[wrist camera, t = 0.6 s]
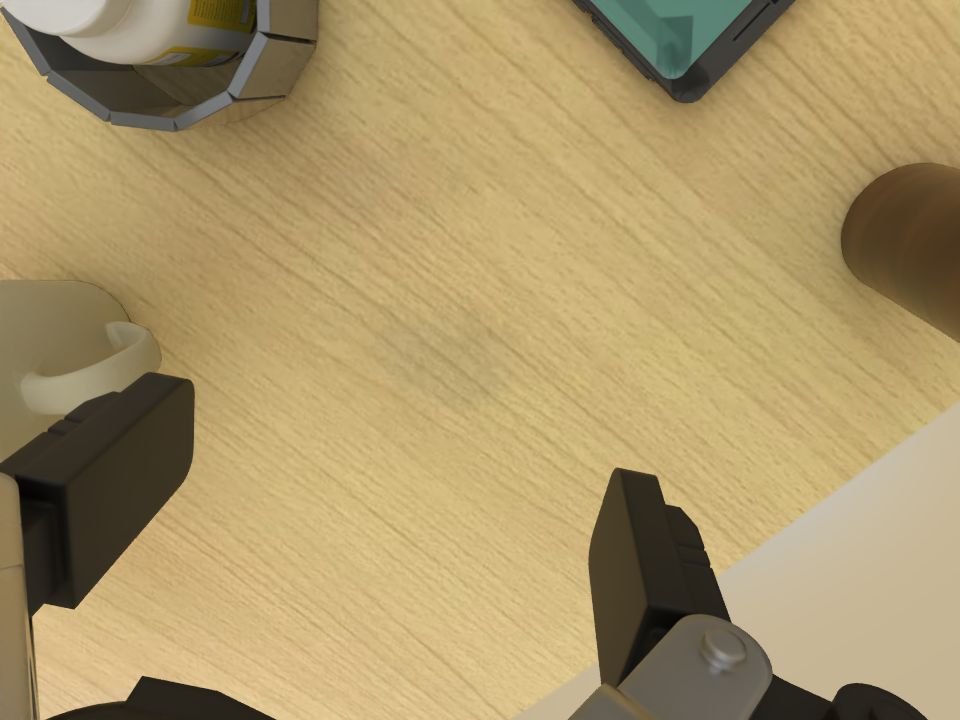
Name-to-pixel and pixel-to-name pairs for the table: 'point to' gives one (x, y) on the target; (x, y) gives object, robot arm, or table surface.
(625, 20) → the smartphone
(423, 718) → the table surface
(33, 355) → the mug
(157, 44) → the supplement bottle
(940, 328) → the brown metal stand
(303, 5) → the grey ring
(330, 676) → the table surface
